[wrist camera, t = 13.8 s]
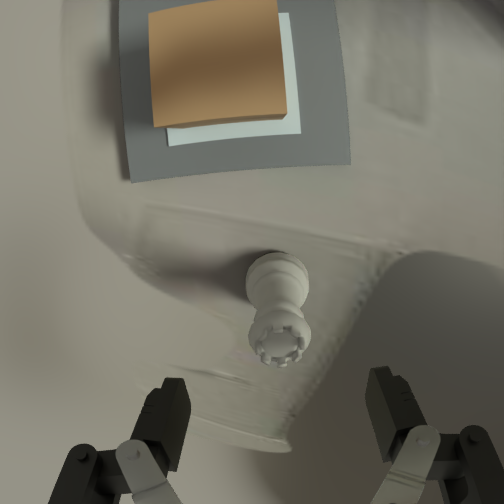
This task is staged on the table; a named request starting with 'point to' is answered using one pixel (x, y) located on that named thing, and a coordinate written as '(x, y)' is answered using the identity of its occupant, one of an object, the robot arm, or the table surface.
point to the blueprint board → (242, 133)
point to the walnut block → (216, 64)
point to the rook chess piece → (278, 308)
